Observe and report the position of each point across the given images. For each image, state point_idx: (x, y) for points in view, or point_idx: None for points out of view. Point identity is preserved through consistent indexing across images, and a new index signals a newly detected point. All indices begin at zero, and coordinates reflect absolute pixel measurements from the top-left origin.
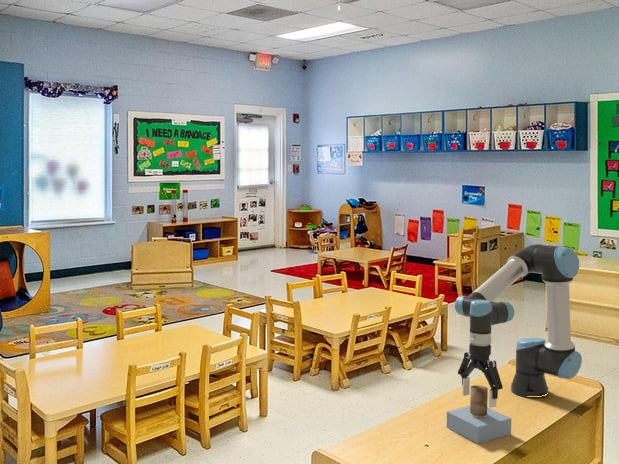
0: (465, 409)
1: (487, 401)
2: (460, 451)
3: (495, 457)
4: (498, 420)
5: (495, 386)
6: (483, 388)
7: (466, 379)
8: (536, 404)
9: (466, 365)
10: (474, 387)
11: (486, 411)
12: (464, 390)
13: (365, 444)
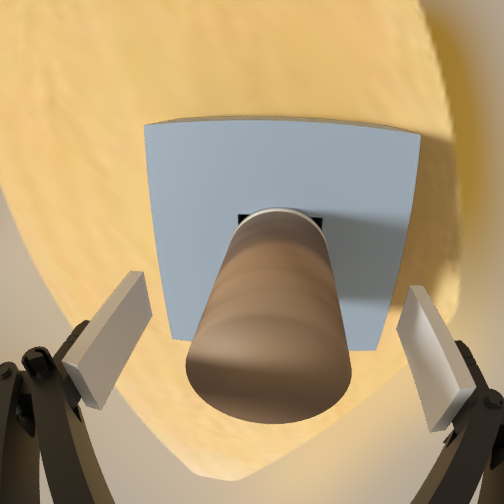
0: (182, 257)
1: (325, 269)
2: (357, 368)
3: (448, 317)
4: (397, 223)
5: (494, 454)
6: (301, 363)
7: (95, 384)
8: None
9: (15, 471)
10: (233, 395)
11: (328, 255)
12: (137, 336)
13: (203, 453)
